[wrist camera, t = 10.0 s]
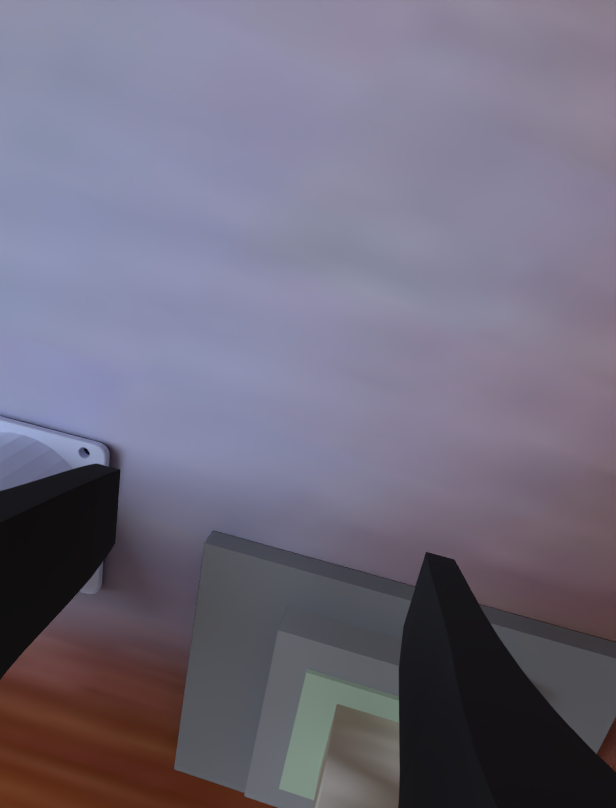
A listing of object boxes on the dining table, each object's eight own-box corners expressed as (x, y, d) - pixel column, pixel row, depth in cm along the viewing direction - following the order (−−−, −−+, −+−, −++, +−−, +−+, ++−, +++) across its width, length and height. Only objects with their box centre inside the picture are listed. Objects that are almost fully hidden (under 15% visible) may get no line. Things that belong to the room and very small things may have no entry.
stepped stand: (181, 751, 29) (159, 801, 27) (213, 530, 25) (189, 566, 22) (524, 865, 27) (534, 931, 25) (632, 647, 22) (659, 701, 20)
